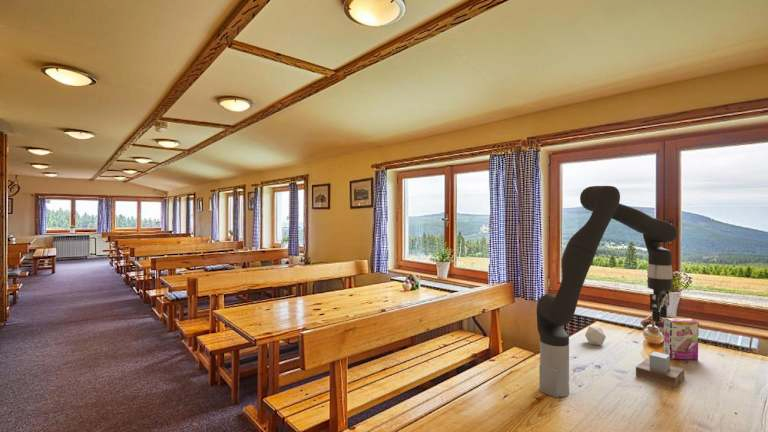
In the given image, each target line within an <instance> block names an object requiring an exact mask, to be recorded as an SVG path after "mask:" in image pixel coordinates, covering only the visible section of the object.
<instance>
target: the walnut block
mask: <svg viewBox="0 0 768 432" xmlns="http://www.w3.org/2000/svg"><path fill="white" fill-rule="evenodd" d="M636 376H637V378H641V379H643V378H644V379H643V380H647V381H650V382H654V383H657V384H661V385H664V386H668V387H671V388H673V389H675V388H677V387H678V386H679V385H680V383H681V382H683V380H684V379H685V368H682V367H679V366H675V365H671V364H670V369H669V370H668V371H667V372H663V371H659V370H656V369H652V368H650V359H648V358H646V359H644V360H643V361H641V362H640V363H639V364H638V365H637V366H635V377H636Z"/></svg>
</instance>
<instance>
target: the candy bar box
mask: <svg viewBox="0 0 768 432" xmlns="http://www.w3.org/2000/svg"><path fill="white" fill-rule="evenodd" d="M699 325H700V324H699V321H697V320H695V319H693V318H680V317H679V318H677V317H676V318H675V317H666V318H663V342H662V343H663V349H662V351H663V352H662V354H667V355H670V360H687V361H690V360H691V361H698V360H699V330H700V329H699Z"/></svg>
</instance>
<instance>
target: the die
mask: <svg viewBox="0 0 768 432" xmlns="http://www.w3.org/2000/svg"><path fill="white" fill-rule="evenodd" d="M584 336H585V338H586V341H587V342H588V344H589V345H592V346H593V345H594V346H601V347H602V346H603V345H604V342H605V339H606V338H607V337H606V334H605V332H604V331H603V328H602V327H599V326H588V327H587V330H586V332H585V335H584Z"/></svg>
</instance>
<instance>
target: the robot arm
mask: <svg viewBox="0 0 768 432" xmlns="http://www.w3.org/2000/svg"><path fill="white" fill-rule="evenodd" d="M579 196H580V197H579V201H580V204H581V206H582V207H583V208H584V209H585V210H587V211H589V212H592V213H591V215H590V217H589V219H588V220H587V222H586V223H585V224H584V225H583V226H582V227H581V228H579V229H578V230H577V231H576V232H575V233H574V234H572V237H570V239H569V240H568V242H567V244H566V246H565V249H564V251H563V254H562V257H561V266H560V267H561V281H560V286H559V288H558V290H557V293H556V295H555V294H553V293H551V294H550V293H547V294H544V295H541V297H540V298H539V299H538V301H537V304H536V325H537V326H536V327H537V332H538V335H539V392H540V393H542V394H546V395H548V396H550V397H553V398H556V399H558V398H565V397H568V396H569V395H570V337H569V334H568V333H567V332H566V330H565V329H564V326H566V325H568V324H569V323H570V322H571V321H572V319H573V317H574V315H575V312H576V310H577V305H578V301H579V298H580V295H581V291H582V288H583V286H584V283H585V281H586V278H587V276H588V273H589V270H590V268H591V265H592V263H593V261H594V258H595V256H596V253H597V251H598V248H599V245H600V244H601V241H602V239H603V237H604V235H605V232H606V230H607V228H608V226H609V224H610V222H611V221H612V220H614V221H616V222H618V223H621V224H623V225H625V226H626V227H628V228H629V229H632V230H633V231H636V233H640V234H642V236H643V241H644V244H645V247H646V250H647V254H648V256H647V257H648V259H647V260H648V263H647V264H648V267H647V288H648V289H650V290H653V292H652V293H649V310H650V311H651V312H652V313H651V314H652V315H651V318H652V320H651V321H653V322H655V323H660V322H661V318H663V319H664V318H668V308H669V306H670V291H672V290H673V268H672V267H673V266H672V265H673V263H672V260H673V259H672V256H673V255H672V251H671V250H670V249H667V248H664V247H663V246H662V245H661V243H665V244H666V243H667V244H668V243H673V242H674V241H676V240H677V239H678V236H679V233H678V229H677V228H676V226H674V224H672V223H670V222H668V221H665V220H661V219H660V218H656V217H652V216H650V215H649V214H647V213H645V212H644V211H642V210H640V209H638V208H635V207H631V206H628V205H625V204H622V203H620V202H621V192H620V190H619V189H618V188H617V187H616V186H613V185H591V186H588V187H585V188H584V189H583V190H582V191H581V193H580V195H579Z"/></svg>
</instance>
